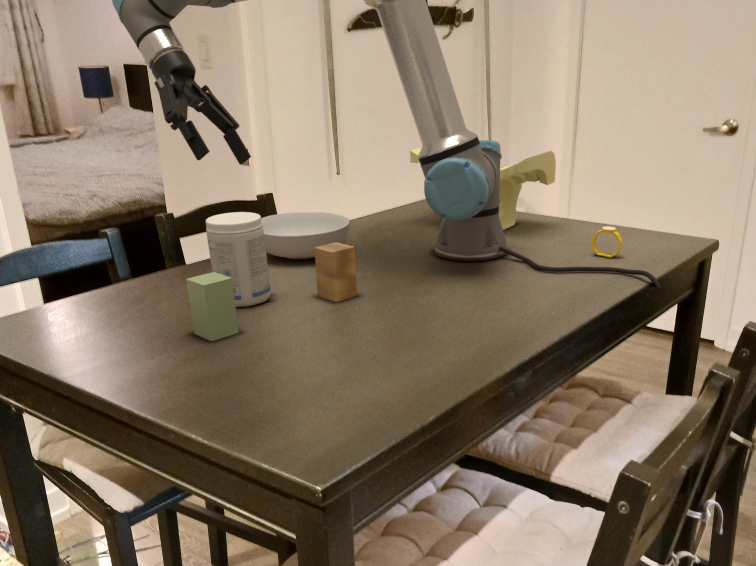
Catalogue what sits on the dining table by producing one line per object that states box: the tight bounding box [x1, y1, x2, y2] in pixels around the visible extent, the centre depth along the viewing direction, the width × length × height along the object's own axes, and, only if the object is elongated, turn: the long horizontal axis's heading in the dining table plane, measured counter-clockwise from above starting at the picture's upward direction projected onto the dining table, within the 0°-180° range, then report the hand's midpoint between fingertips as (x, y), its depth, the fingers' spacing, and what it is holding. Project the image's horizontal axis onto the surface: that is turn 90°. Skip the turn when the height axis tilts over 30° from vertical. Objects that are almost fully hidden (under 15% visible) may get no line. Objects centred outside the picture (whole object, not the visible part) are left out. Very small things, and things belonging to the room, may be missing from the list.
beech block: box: [314, 242, 358, 303], centre depth 134 cm, size 5×5×9 cm
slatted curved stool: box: [409, 147, 557, 231], centre depth 181 cm, size 30×16×18 cm, turn 57°
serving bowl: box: [261, 211, 351, 260], centre depth 162 cm, size 21×21×7 cm
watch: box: [591, 225, 623, 259], centre depth 156 cm, size 6×3×6 cm, turn 59°
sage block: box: [185, 271, 239, 342], centre depth 118 cm, size 5×5×9 cm
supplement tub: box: [205, 211, 272, 308], centre depth 132 cm, size 10×10×15 cm
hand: (225, 158), depth 144 cm, fingers open, 13 cm apart
